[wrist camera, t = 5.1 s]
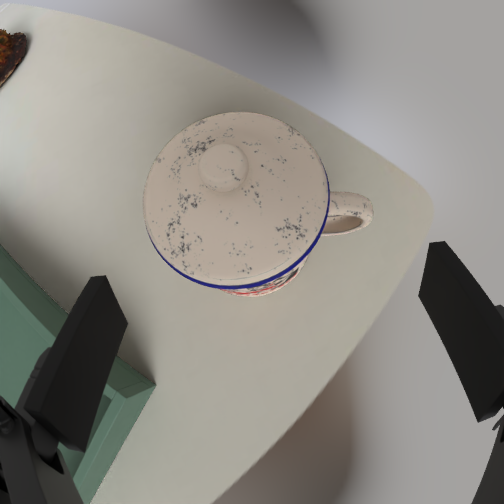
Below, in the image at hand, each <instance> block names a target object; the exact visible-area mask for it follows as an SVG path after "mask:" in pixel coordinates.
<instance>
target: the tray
mask: <svg viewBox="0 0 504 504" xmlns="http://www.w3.org/2000/svg"><path fill="white" fill-rule="evenodd" d="M67 317H68V314H67V313H66V312H65V311H64V310H63V309H62V308H61V307H60V306H59V305H58V304H57V303H55V302H54V301H53V300H52V299H51V298H50V297H49V296H48V295H47V294H46V293H45V292H44V291H43V290H42V289H41V288H40V287H39V286H38V285H37V284H36V283H35V282H34V281H33V280H32V279H31V278H30V277H29V276H28V275H27V273H26V272H25V271H24V270H23V269H22V268H21V267H20V266H19V265H18V264H17V263H16V262H15V261H14V259H13V258H12V257H11V256H10V255H9V254H8V253H7V252H6V250H5V249H4V248H3V247H2V246H1V245H0V396H2V397H3V398H4V399H5V400H6V401H7V402H8V403H9V404H10V405H11V406H12V407H13V408H15V406H16V404H17V402H18V399H19V397H20V395H21V393H22V391H23V389H24V386H25V384H26V382H27V380H28V378H30V374H31V372H32V370H34V366H35V364H36V362H37V360H38V358H39V356H40V355H41V354H42V353H43V352H44V351H45V350H46V349H47V347H52V345H53V343H54V341H55V339H56V337H57V336H58V334H59V332H60V330H61V328H62V326H63V324H64V323H65V321H66V319H67ZM155 387H156V385H155V384H154V383H152V382H151V381H150V380H148V379H147V378H145V377H144V376H143V375H141V374H140V373H139V372H137V371H136V370H135V369H133V368H132V367H131V366H129V365H128V364H127V363H125V362H124V361H123V360H122V359H120V358H119V357H118V356H117V355H116V357H115V360H114V363H113V365H112V368H111V371H110V374H109V377H108V380H107V383H106V386H105V389H104V392H103V395H102V398H101V401H100V404H99V407H98V410H97V413H96V417H95V420H94V423H93V426H92V430H91V433H90V437H89V440H88V443H87V447H86V451H85V453H83V452H79V451H74V450H70V449H68V448H66V447H65V446H64V445H63V444H62V443H60V442H59V444H58V449H59V450H60V451H61V453H62V455H63V457H64V460H65V462H66V465H67V467H68V470H69V472H70V474H71V477H72V479H73V481H74V483H75V486H76V488H77V490H78V492H79V494H80V496H81V498H82V500H83V502H84V504H90V502H91V500H92V498H93V496H94V495H95V493H96V491H97V489H98V487H99V486H100V484H101V482H102V480H103V478H104V477H105V475H106V473H107V471H108V469H109V468H110V466H111V464H112V462H113V461H114V459H115V457H116V455H117V453H118V452H119V450H120V448H121V446H122V445H123V443H124V441H125V439H126V437H127V436H128V434H129V432H130V430H131V429H132V427H133V425H134V423H135V422H136V420H137V418H138V416H139V415H140V413H141V411H142V409H143V408H144V406H145V404H146V402H147V401H148V399H149V397H150V395H151V394H152V392H153V390H154V388H155Z"/></svg>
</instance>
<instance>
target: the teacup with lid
mask: <svg viewBox="0 0 504 504" xmlns="http://www.w3.org/2000/svg"><path fill="white" fill-rule="evenodd" d="M143 212H144V219H145V224H146V228H147V231H148V234H149V237H150V239H151V241H152V243H153V245H154V247H155V249H156V250H157V252H158V253H159V255H160V256H161V257H162V259H163V260H164V261H165V262H166V263H167V264H168V265H169V266H170V267H171V268H173V269H174V270H175V271H176V272H178V273H179V274H181V275H182V276H184V277H185V278H187V279H189V280H191V281H193V282H196V283H198V284H201V285H204V286H208V287H212V288H218V289H220V290H222V291H224V292H227V293H229V294H233V295H236V296H242V297H256V296H262V295H267V294H270V293H272V292H275V291H277V290H279V289H281V288H282V287H284V286H285V285H287V284H288V283H289V282H290V281H292V280H293V279H294V278H295V277H296V275H297V274H298V273H299V272H300V270H301V269H302V267H303V266H304V264H305V262H306V260H307V257H308V255H309V253H310V252H311V250H312V249H313V247H314V246H315V245H316V243H317V241H318V239H319V238H320V236H330V235H341V234H346V233H351V232H354V231H357V230H360V229H362V228H364V227H365V226H367V225H368V224H369V223H370V222H371V221H372V219H373V206H372V203H371V201H370V200H369V199H368V198H366V197H364V196H362V195H359V194H355V193H349V192H330V190H329V182H328V178H327V174H326V171H325V168H324V166H323V164H322V162H321V159H320V158H319V156H318V154H317V153H316V151H315V149H314V148H313V147H312V145H311V144H310V143H309V142H308V141H307V140H306V139H305V137H304V136H302V135H301V134H300V133H299V132H298V131H297V130H295V129H294V128H292V127H291V126H289V125H288V124H286V123H284V122H282V121H280V120H278V119H276V118H273V117H270V116H267V115H263V114H259V113H253V112H228V113H222V114H217V115H213V116H210V117H207V118H204V119H202V120H200V121H197V122H195V123H193V124H192V125H190V126H188V127H187V128H185V129H184V130H182V131H181V132H179V133H178V134H177V135H176V136H175V137H173V138H172V139H171V140H170V141H169V142H168V143H167V145H166V146H165V147H164V148H163V149H162V151H161V152H160V153H159V155H158V156H157V158H156V160H155V161H154V163H153V165H152V167H151V169H150V172H149V174H148V177H147V181H146V184H145V189H144V196H143ZM328 215H336V216H328Z"/></svg>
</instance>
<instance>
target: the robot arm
mask: <svg viewBox="0 0 504 504" xmlns="http://www.w3.org/2000/svg"><path fill="white" fill-rule="evenodd" d="M418 296H419V298H420V300H421V302H422V304H423V305H424V307H425V309H426V311H427V313H428V315H429V317H430V319H431V320H432V322H433V324H434V326H435V328H436V330H437V332H438V334H439V336H440V338H441V340H442V342H443V344H444V346H445V348H446V350H447V352H448V354H449V357H450V359H451V361H452V363H453V365H454V367H455V369H456V372H457V373H458V376H459V378H460V381H461V383H462V385H463V387H464V390H465V392H466V394H467V397H468V399H469V402H470V404H471V407H472V409H473V411H474V414H475V417H476V419H477V422H481V421H483V420H486V419H488V418H491V417H493V416H495V415H496V414H497V413H498V411H499V410H500V409H501V408H502V406H503V409H504V307H503V306H502V305H497V306H494V305H493V303H492V302H491V300H490V299H489V297H488V296H487V295H486V293H485V292H484V291H483V289H482V288H481V286H480V285H479V284H478V282H477V281H476V280H475V278H474V277H473V276H472V274H471V273H470V272H469V270H468V269H467V268H466V267H465V265H464V264H463V263H462V262H461V260H460V259H459V258H458V257H457V255H456V254H455V253H454V252H453V250H452V249H451V248H450V247H449V246H448V244H447V243H446V242H445V241H442V242H433V243H429V249H428V253H427V258H426V263H425V268H424V273H423V278H422V282H421V286H420V291H419V295H418ZM127 325H128V322H127V320H126V318H125V316H124V314H123V312H122V310H121V308H120V306H119V303H118V301H117V299H116V297H115V295H114V293H113V290H112V288H111V286H110V284H109V281H108V279H107V277H106V275H105V276H94V277H91V278H90V279H89V281H88V283H87V284H86V286H85V288H84V289H83V291H82V293H81V294H80V296H79V298H78V300H77V301H76V303H75V305H74V306H73V308H72V310H71V312H70V314H69V315H68V317H67V319H66V321H65V323H64V324H63V326H62V328H61V330H60V332H59V334H58V336H57V337H56V339H55V341H54V343H53V345H52V347H47V349H46V350H45V351H44V352H43V353H42V354H41V355H40V356H39V358H38V360H37V362H36V364H35V366H34V370H32V372H31V374H30V378H28V380H27V382H26V384H25V386H24V389H23V391H22V393H21V395H20V397H19V399H18V402H17V404H16V406H15V408H13V407H12V406H11V405H10V404H9V403H8V402H7V401H6V400H5V399H4V398H3V397H2V396H0V504H84V502H83V500H82V498H81V496H80V494H79V492H78V490H77V488H76V486H75V483H74V481H73V479H72V477H71V474H70V472H69V470H68V467H67V465H66V462H65V460H64V457H63V455H62V453H61V451H60V450H59V449H58V444H59V442H60V443H62V444H63V445H64V446H65V447H66V448H68V449H70V450H74V451H79V452H83V453H85V451H86V447H87V443H88V440H89V437H90V433H91V430H92V426H93V423H94V420H95V417H96V413H97V410H98V407H99V404H100V401H101V398H102V395H103V392H104V389H105V386H106V383H107V380H108V377H109V374H110V371H111V368H112V365H113V363H114V360H115V357H116V354H117V352H118V349H119V346H120V343H121V341H122V338H123V335H124V333H125V330H126V327H127ZM499 425H500V427H499V431H498V434H497V437H496V440H495V444H494V447H493V450H492V453H491V456H490V459H489V461H488V464H487V467H486V470H485V472H484V475H483V478H482V480H481V483H480V485H479V487H478V490H477V492H476V495H475V497H474V499H473V502H472V504H504V415H503V416H502V417H501V418H500V420H499V421H498V422H497V423H496V424H495V426H494V427H493V429H492V430H495V429H496V428H497V427H498V426H499Z"/></svg>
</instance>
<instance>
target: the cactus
mask: <svg viewBox="0 0 504 504" xmlns="http://www.w3.org/2000/svg"><path fill="white" fill-rule="evenodd" d="M26 41H27V40H26V36H25V35H24V33H21V32H19V33H14V35H10V33H9V34H7V33H6V30H5V31H4V29H3V30H2V29H0V86H1V84H2V83H3V82H4V81H5V80H6V79H7V78H8V76H9V75H10V74H11V73H12V71H13V70H14V69H15V68H16V64H18V62H21V58H23V57H24V54H25V46H26Z"/></svg>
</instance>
